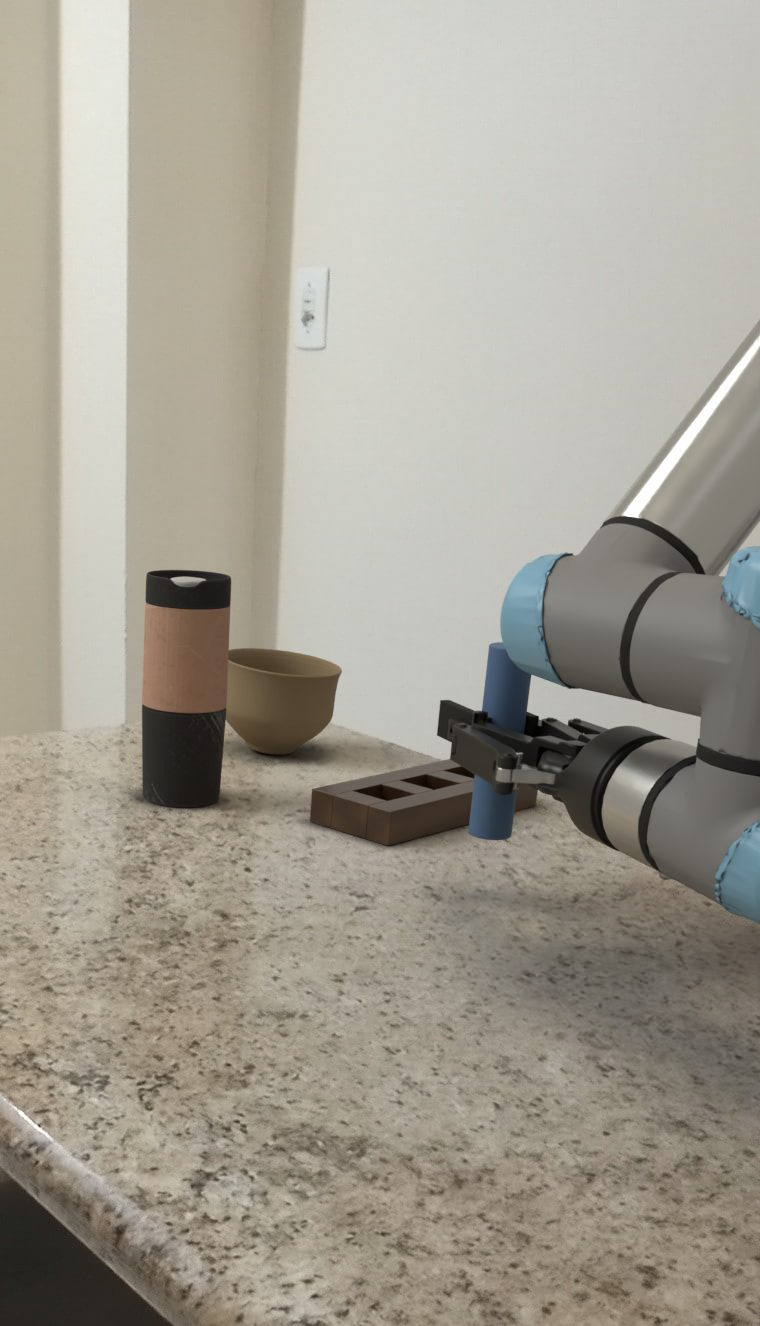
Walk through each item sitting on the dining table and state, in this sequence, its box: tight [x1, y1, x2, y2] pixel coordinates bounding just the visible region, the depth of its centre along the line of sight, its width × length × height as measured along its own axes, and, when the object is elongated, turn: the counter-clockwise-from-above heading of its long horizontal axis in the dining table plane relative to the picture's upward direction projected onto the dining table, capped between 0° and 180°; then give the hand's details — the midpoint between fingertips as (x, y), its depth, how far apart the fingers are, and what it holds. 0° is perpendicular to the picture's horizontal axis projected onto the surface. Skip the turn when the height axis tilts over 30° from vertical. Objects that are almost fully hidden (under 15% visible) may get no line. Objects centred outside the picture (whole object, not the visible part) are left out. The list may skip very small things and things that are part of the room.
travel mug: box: [141, 569, 232, 808], centre depth 124 cm, size 8×8×20 cm
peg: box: [468, 641, 532, 841], centre depth 101 cm, size 3×3×14 cm
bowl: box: [225, 647, 343, 756], centre depth 144 cm, size 13×13×10 cm
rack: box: [309, 758, 539, 846], centre depth 125 cm, size 9×22×3 cm, turn 134°
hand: (465, 717), depth 105 cm, fingers closed on peg, 3 cm apart
